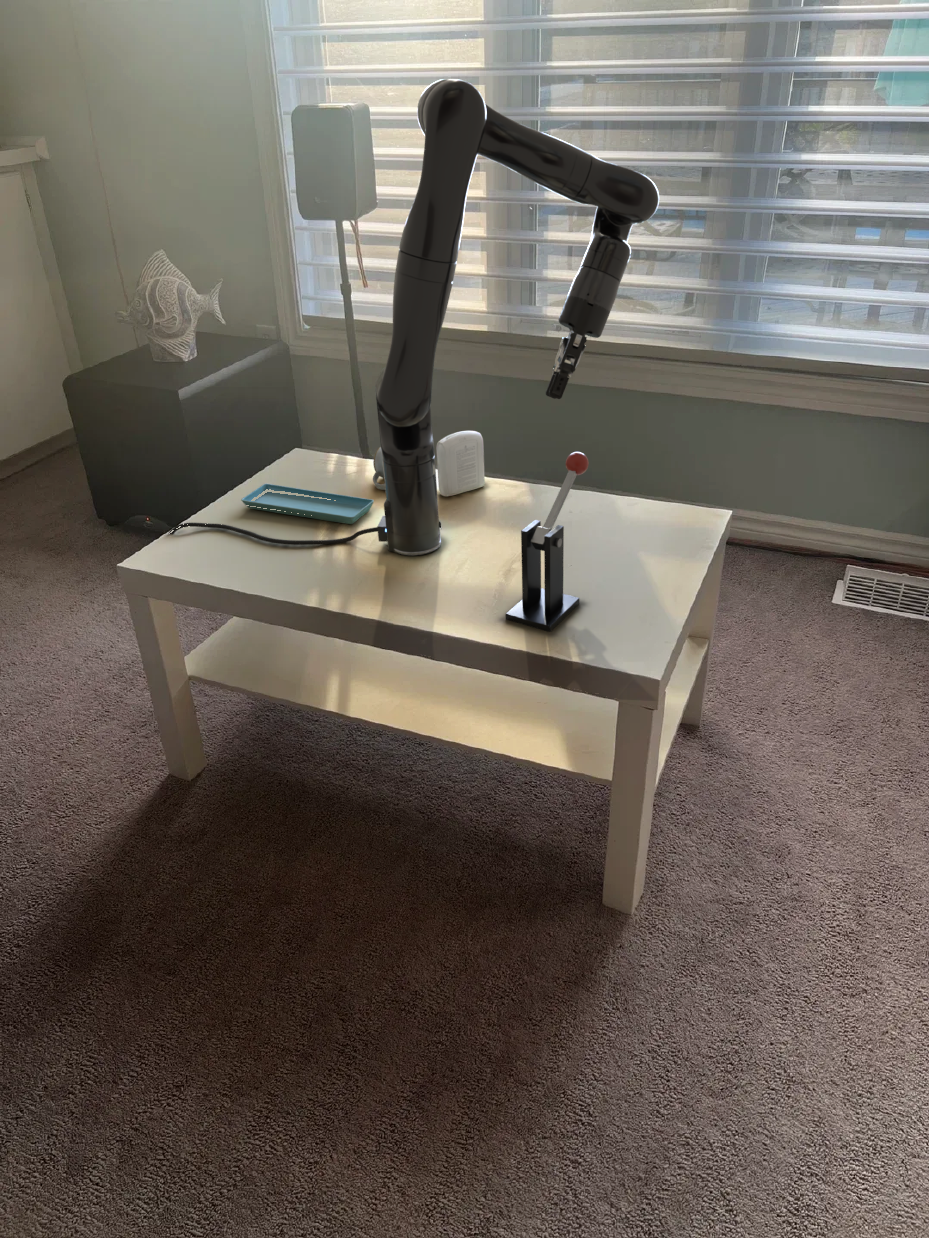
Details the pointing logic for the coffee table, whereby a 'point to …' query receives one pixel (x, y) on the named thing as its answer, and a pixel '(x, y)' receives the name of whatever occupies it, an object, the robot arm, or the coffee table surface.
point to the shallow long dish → (309, 504)
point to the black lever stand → (536, 602)
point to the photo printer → (460, 462)
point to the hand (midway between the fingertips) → (552, 397)
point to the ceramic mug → (378, 469)
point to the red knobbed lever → (561, 496)
